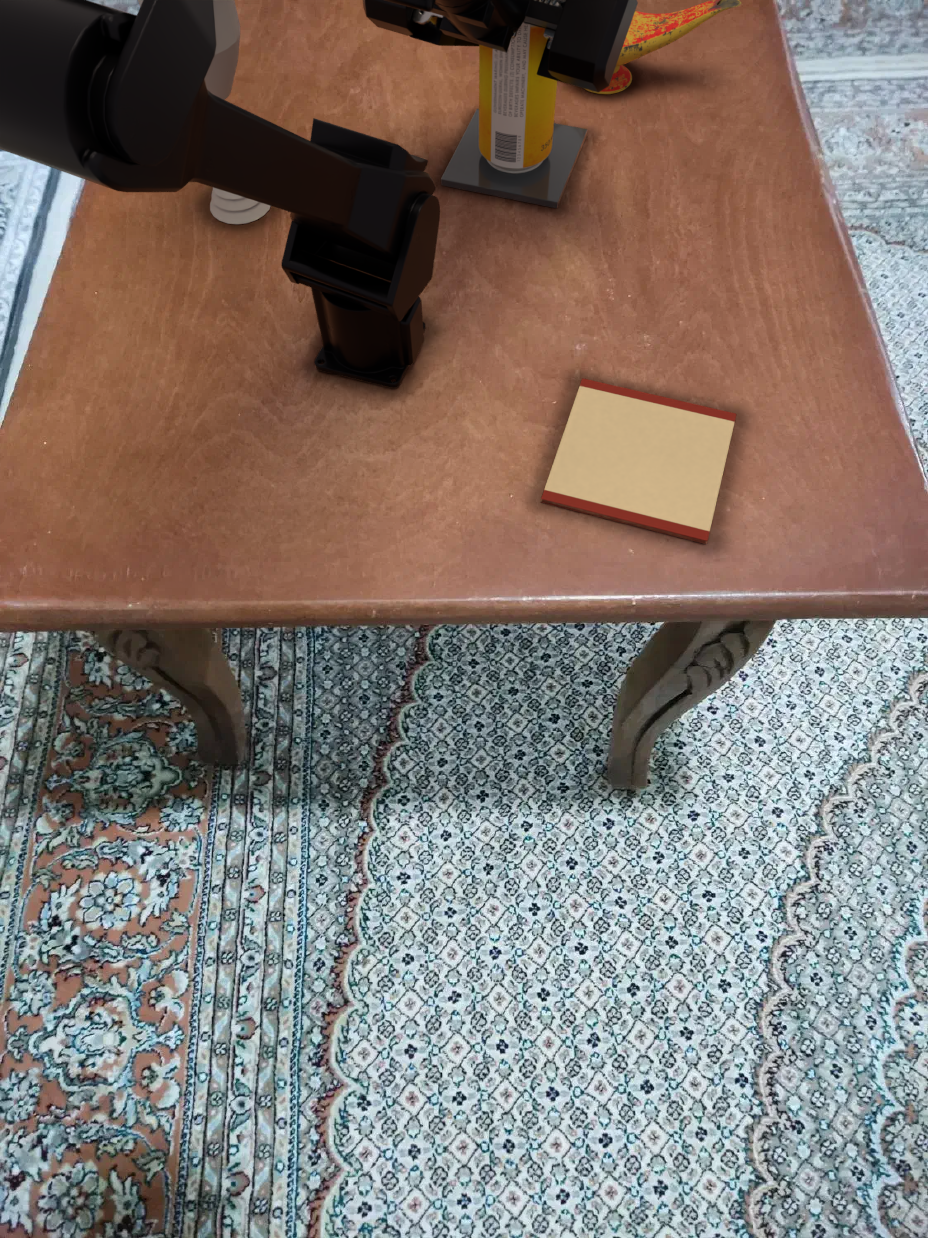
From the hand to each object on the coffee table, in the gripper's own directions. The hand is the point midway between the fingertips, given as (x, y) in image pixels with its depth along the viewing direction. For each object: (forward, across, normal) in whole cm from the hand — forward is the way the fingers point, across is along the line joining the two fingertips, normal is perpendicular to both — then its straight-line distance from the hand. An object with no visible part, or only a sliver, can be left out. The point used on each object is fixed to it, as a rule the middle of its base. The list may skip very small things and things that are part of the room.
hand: (527, 49), depth 68 cm
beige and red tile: (-12, -22, +24) cm, 35 cm away
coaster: (+5, 0, +7) cm, 8 cm away
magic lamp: (+16, -4, -4) cm, 16 cm away
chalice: (-6, +18, +18) cm, 26 cm away
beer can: (+5, 0, +7) cm, 8 cm away
